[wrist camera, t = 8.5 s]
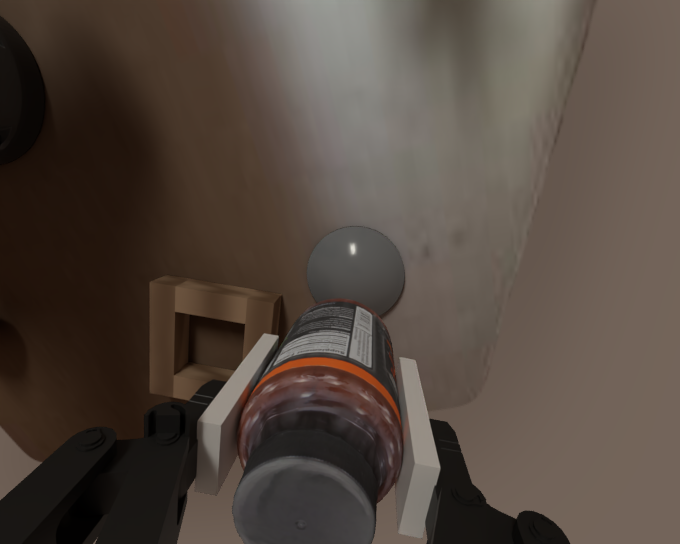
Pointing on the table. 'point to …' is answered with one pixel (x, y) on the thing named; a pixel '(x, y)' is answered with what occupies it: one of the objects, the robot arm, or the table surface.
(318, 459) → the supplement bottle
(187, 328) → the pocket holder
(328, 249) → the grey domed disc
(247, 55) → the table surface
